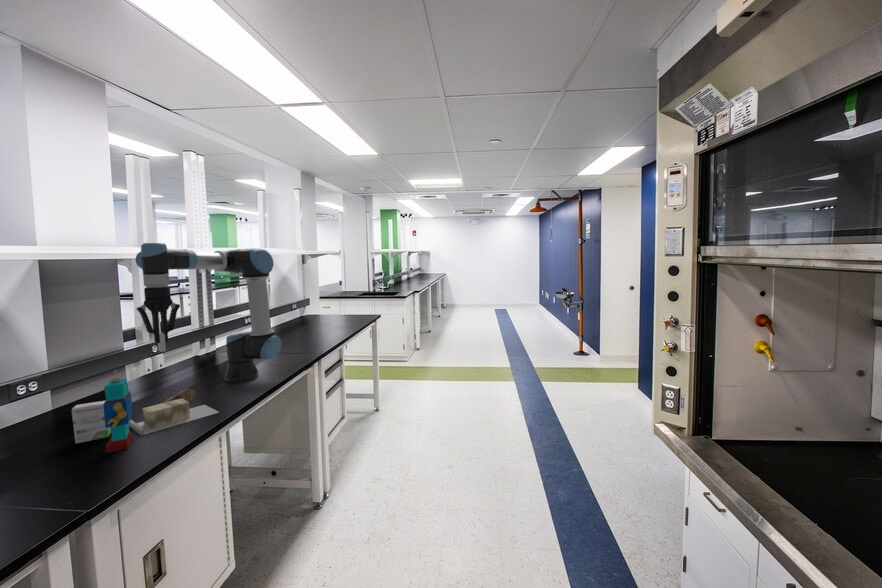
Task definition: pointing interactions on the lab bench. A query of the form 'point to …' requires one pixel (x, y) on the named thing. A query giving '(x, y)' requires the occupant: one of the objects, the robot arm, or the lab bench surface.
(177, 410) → the block
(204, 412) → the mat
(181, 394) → the rock
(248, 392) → the lab bench surface
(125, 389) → the toy robot
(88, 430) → the ink box
